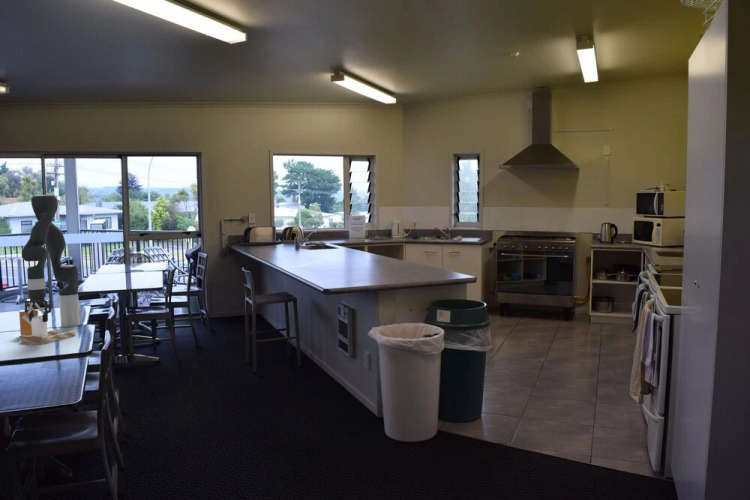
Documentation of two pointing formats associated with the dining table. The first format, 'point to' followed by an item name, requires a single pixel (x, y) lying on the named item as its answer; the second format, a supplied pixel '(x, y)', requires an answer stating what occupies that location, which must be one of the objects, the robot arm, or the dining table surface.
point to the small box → (26, 322)
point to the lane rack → (51, 337)
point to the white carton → (39, 327)
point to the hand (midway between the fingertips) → (38, 321)
